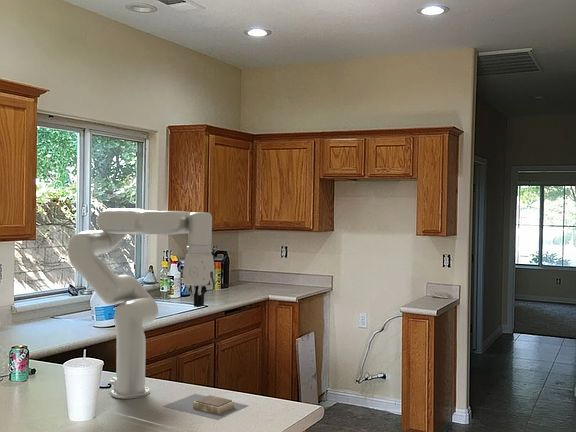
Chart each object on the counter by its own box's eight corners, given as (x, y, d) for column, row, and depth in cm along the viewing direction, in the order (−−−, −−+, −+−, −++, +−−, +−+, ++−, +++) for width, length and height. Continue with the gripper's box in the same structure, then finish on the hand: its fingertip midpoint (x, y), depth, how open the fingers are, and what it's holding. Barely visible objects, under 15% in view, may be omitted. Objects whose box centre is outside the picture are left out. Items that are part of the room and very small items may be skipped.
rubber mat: (162, 407, 199) (162, 406, 198) (195, 394, 212) (195, 393, 212) (217, 421, 187) (217, 419, 187) (248, 406, 201) (248, 405, 201)
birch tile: (193, 400, 197) (218, 406, 192) (209, 394, 204) (234, 400, 199) (193, 408, 197) (218, 414, 192) (209, 401, 204) (234, 407, 199)
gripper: (174, 249, 205) (173, 305, 205) (210, 252, 197) (209, 310, 198) (189, 248, 211) (188, 302, 212) (225, 250, 204) (224, 307, 204)
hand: (198, 306), depth 205 cm, fingers closed
